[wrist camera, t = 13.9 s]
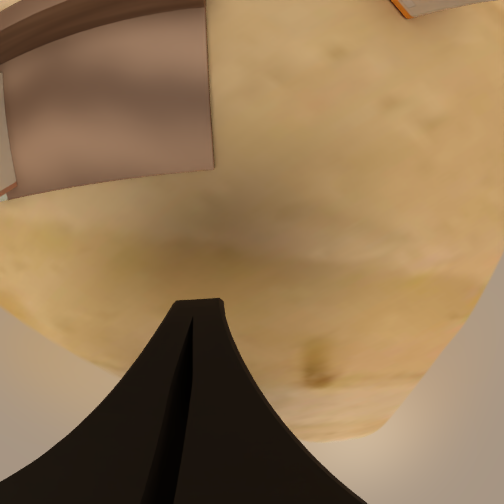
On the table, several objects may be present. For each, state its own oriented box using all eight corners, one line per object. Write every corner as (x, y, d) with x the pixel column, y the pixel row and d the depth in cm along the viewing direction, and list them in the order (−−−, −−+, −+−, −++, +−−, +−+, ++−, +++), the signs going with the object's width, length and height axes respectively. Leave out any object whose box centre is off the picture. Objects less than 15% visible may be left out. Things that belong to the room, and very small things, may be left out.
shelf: (214, 166, 16) (207, 205, 11) (-40, 209, 15) (-89, 247, 10) (205, -5, 12) (194, -52, 6) (-59, 90, 11) (-116, 106, 5)
